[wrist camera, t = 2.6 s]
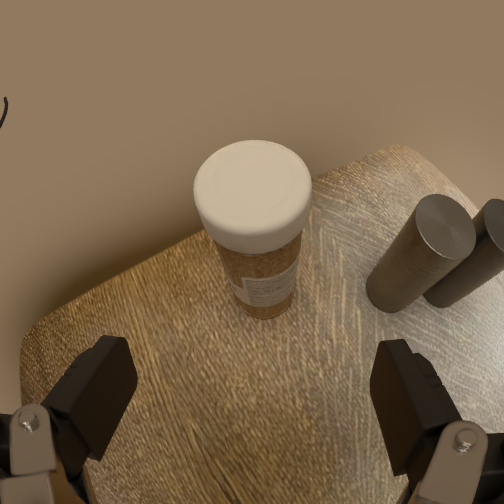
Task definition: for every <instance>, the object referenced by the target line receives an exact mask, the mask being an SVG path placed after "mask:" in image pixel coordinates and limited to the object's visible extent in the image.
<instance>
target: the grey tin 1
mask: <svg viewBox="0 0 504 504" xmlns="http://www.w3.org/2000/svg"><path fill="white" fill-rule="evenodd" d="M475 244H476V231H475V227H474V224H473V221H472V219H471V217H470V216H469V214H468V213H467V211H466V210H465V209H464V208H463V207H462V206H461V205H460V204H459V203H458V202H456V201H455V200H453V199H452V198H450V197H448V196H445V195H441V194H432V195H428V196H426V197H424V198H423V199H421V200H420V202H419V203H418V204H417V206H416V208H415V209H414V211H413V212H412V214H411V215H410V217H409V219H408V220H407V222H406V223H405V225H404V226H403V228H402V229H401V231H400V232H399V234H398V235H397V237H396V238H395V240H394V241H393V243H392V244H391V245H390V247H389V248H388V250H387V251H386V253H385V254H384V256H383V257H382V258H381V260H380V261H379V263H378V264H377V265H376V267H375V268H374V269H373V271H372V272H371V274H370V275H369V277H368V280H367V294H368V297H369V299H370V300H371V302H372V303H373V305H374V306H376V307H377V308H378V309H380V310H382V311H384V312H388V313H394V312H398V311H400V310H402V309H403V308H405V307H406V306H408V305H409V304H410V303H412V302H413V301H414V300H416V299H417V298H418V297H419V296H421V295H422V294H423V293H425V292H426V291H427V290H428V289H430V288H431V287H432V286H434V285H435V284H436V283H437V282H439V281H440V280H441V279H442V278H443V277H445V276H446V275H447V274H448V273H449V272H451V271H452V270H453V269H454V268H455V267H457V266H458V265H459V264H460V263H461V262H462V261H463V260H465V259H466V258H467V257H468V256H469V255H470V254H471V253H472V251H473V250H474V247H475Z"/></svg>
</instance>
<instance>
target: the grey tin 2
mask: <svg viewBox="0 0 504 504" xmlns="http://www.w3.org/2000/svg"><path fill="white" fill-rule="evenodd" d="M472 221H473V224H474V227H475V231H476V244H475V247H474V250H473V251H472V253H471V254H470V255H469V256H468V257H467V258H466V259H465V260H463V261H462V262H461V263H460V264H459V265H458V266H457V267H455V268H454V269H453V270H452V271H451V272H449V273H448V274H447V275H446V276H445V277H443V278H442V279H441V280H440V281H439V282H437V283H436V284H435V285H434V286H432V287H431V288H430V289H428V290H427V291H426V292H425V293H423V295H424V297H425V298H426V299H427V301H428V302H429V303H431V304H432V305H434V306H436V307H439V308H445V307H448V306H450V305H452V304H453V303H455V302H457V301H458V300H460V299H461V298H463V297H465V296H466V295H468V294H469V293H471V292H472V291H474V290H475V289H477V288H478V287H480V286H481V285H483V284H484V283H486V282H487V281H489V280H490V279H491V278H493V277H494V276H496V275H497V274H498V273H500V272H501V271H503V270H504V201H503V200H500V199H491V200H489V201H488V202H487V203H486V204H485V205H484V206H483V208H482V209H481V210H480V211H479V212H478V213H477V214H476V216H475V217H474V218H473V219H472Z"/></svg>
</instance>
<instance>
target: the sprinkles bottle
mask: <svg viewBox="0 0 504 504" xmlns="http://www.w3.org/2000/svg"><path fill="white" fill-rule="evenodd" d="M193 188H194V189H193V193H194V200H195V204H196V207H197V210H198V213H199V215H200V218H201V220H202V223H203V225H204V227H205V229H206V231H207V232H208V234H209V235H210V236H211V237H212V239H214V241H215V244H216V247H217V250H218V252H219V255H220V259H221V263H222V266H223V268H224V270H225V273H226V276H227V278H228V281H229V283H230V286H231V288H232V290H233V292H234V296H235V299H236V302H237V304H238V305H239V307H240V308H241V310H243V311H244V312H245V313H246V314H248V315H250V316H252V317H254V318H258V319H269V318H273V317H276V316H278V315H280V314H281V313H283V312H284V311H285V310H286V309H287V308H288V306H289V305H290V303H291V301H292V299H293V294H294V284H295V279H296V273H297V268H298V262H299V257H300V251H301V235H302V228H303V227H304V225H305V223H306V221H307V218H308V215H309V210H310V203H311V194H312V182H311V177H310V173H309V171H308V169H307V167H306V165H305V163H304V162H303V161H302V159H301V158H300V157H299V156H297V154H295V153H294V152H293V151H291V150H290V149H288V148H286V147H284V146H282V145H280V144H277V143H274V142H269V141H263V140H248V141H241V142H237V143H234V144H231V145H228V146H225V147H223V148H222V149H220V150H218V151H216V152H215V153H214V154H213V155H211V156H210V157H209V158H208V159H207V160H206V161H205V162H204V164H203V165H202V166H201V168H200V169H199V171H198V173H197V175H196V178H195V182H194V187H193Z"/></svg>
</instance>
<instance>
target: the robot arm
mask: <svg viewBox="0 0 504 504" xmlns="http://www.w3.org/2000/svg"><path fill="white" fill-rule="evenodd" d="M4 103H5V108H4V113H3V115H2V118H1V120H0V128H1V126H2V124H3V122H4V119H5V117H6V114H7V110H8V101H7V98H6V97H4ZM137 381H138V377H137V372H136V368H135V365H134V362H133V359H132V356H131V353H130V349H129V346H128V343H127V341H126V339H125V338H123V337H116V336H107V335H103V336H101V337H100V338H99V340H98V341H97V342H96V343H95V345H94V346H93V347H92V348H89V349H87V350H86V351H84V352H83V353H81V354H80V355H78V356H77V358H76V359H75V360H74V361H73V363H72V364H71V365H70V368H68V369H67V370H66V372H65V373H64V376H62V377H61V378H60V379H59V381H58V382H57V383H56V384H55V386H54V387H53V388H52V390H51V391H50V392H49V394H48V395H47V396H46V398H45V399H44V400H43V402H42V403H41V404H40V405H39V404H28V405H25V406H22V407H21V408H19V409H18V410H16V412H15V413H14V414H13V415H9V414H0V504H98V501H97V498H96V496H95V493H94V490H93V487H92V483H91V480H90V477H89V474H88V470H87V467H86V466H85V464H84V463H85V461H86V459H87V457H88V458H91V459H94V460H97V461H101V459H102V457H103V455H104V453H105V451H106V449H107V447H108V445H109V443H110V440H111V438H112V436H113V434H114V432H115V430H116V428H117V426H118V424H119V422H120V420H121V418H122V416H123V414H124V412H125V410H126V408H127V406H128V404H129V402H130V400H131V398H132V396H133V394H134V392H135V390H136V387H137ZM370 395H371V398H372V401H373V405H374V408H375V411H376V414H377V418H378V421H379V424H380V428H381V431H382V435H383V438H384V442H385V445H386V449H387V452H388V456H389V460H390V463H391V467H392V471H393V475H394V476H399V475H403V474H407V477H408V480H409V481H408V483H407V484H406V486H405V488H404V490H403V492H402V493H401V495H400V497H399V499H398V501H397V503H396V504H504V433H493V434H486V433H485V431H484V430H483V429H482V428H481V427H480V426H479V425H477V424H476V423H474V422H471V421H466V420H462V418H461V416H460V414H459V412H458V410H457V408H456V407H455V405H454V403H453V401H452V399H451V397H450V396H449V394H448V392H447V390H446V388H445V387H444V385H442V381H441V380H440V378H439V376H437V373H436V371H435V369H434V368H433V366H432V364H431V363H430V362H429V361H428V360H427V359H426V358H424V357H423V356H422V355H421V354H419V353H414V354H413V353H412V351H411V349H410V348H409V346H408V344H407V342H406V341H405V340H404V339H397V340H386V341H380V343H379V345H378V348H377V353H376V357H375V361H374V365H373V369H372V373H371V377H370Z"/></svg>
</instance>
